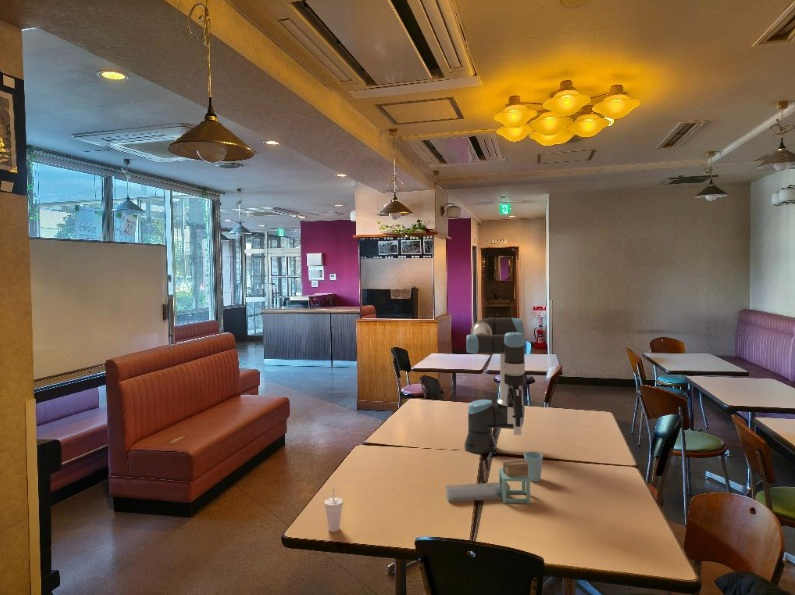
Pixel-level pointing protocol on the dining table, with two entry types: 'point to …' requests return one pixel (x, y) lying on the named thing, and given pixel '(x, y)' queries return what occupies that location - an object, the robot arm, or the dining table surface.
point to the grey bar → (476, 492)
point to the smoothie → (333, 512)
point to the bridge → (504, 478)
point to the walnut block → (515, 467)
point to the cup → (534, 465)
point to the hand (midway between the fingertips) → (514, 429)
